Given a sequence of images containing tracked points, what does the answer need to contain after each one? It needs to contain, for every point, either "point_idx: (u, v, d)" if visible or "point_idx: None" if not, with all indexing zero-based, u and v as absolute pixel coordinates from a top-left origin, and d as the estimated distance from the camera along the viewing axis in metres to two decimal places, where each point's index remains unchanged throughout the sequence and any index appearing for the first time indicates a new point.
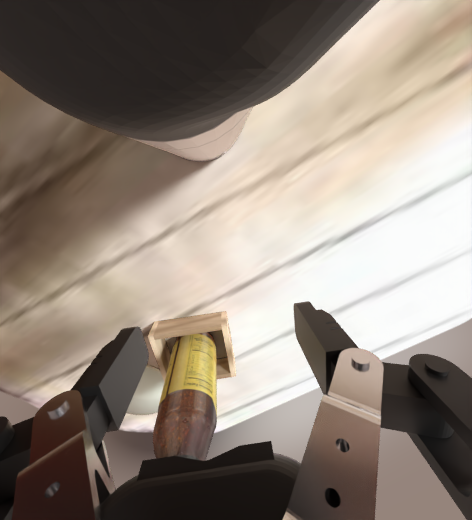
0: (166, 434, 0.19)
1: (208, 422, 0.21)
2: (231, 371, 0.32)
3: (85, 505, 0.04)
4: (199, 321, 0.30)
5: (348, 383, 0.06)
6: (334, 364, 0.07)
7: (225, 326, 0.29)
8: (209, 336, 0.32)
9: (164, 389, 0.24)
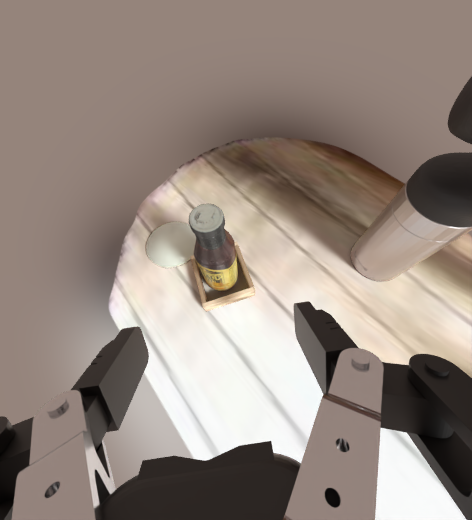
0: (227, 232, 0.31)
1: (229, 258, 0.30)
2: (208, 302, 0.38)
3: (85, 505, 0.04)
4: None
5: (348, 383, 0.06)
6: (334, 364, 0.07)
7: (253, 289, 0.38)
8: (233, 284, 0.41)
9: None
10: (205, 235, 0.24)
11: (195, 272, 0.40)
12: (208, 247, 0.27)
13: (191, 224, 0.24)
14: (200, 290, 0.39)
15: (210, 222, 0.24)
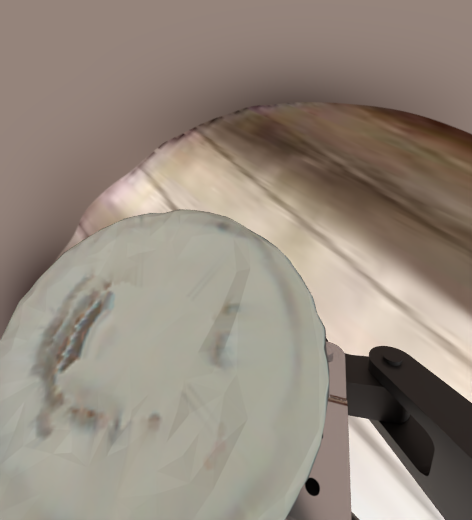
0: None
1: None
2: None
3: None
4: None
5: None
6: None
7: None
8: None
9: None
10: None
11: None
12: None
13: None
14: None
15: (196, 426, 0.02)
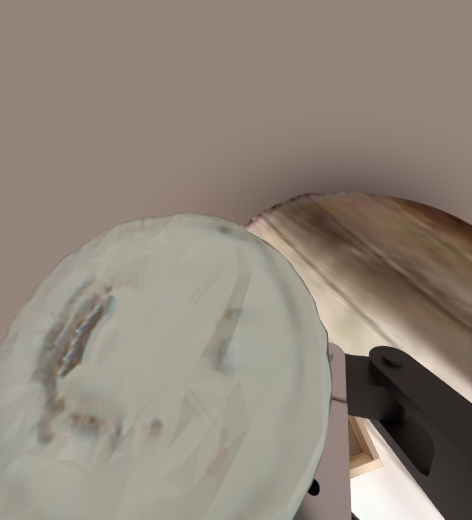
0: None
1: None
2: None
3: None
4: None
5: None
6: None
7: (380, 464, 0.26)
8: None
9: None
10: None
11: None
12: None
13: None
14: None
15: (198, 432, 0.02)
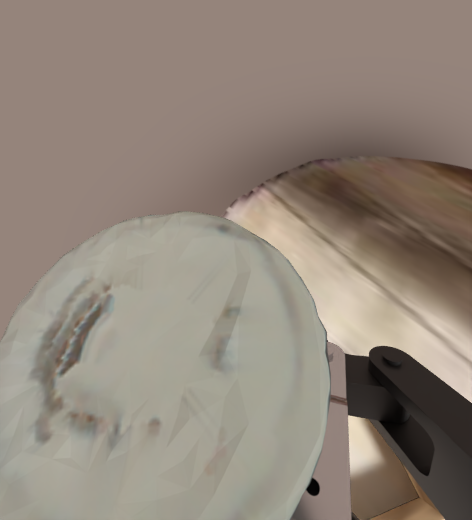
0: None
1: None
2: None
3: None
4: None
5: None
6: None
7: None
8: None
9: None
10: None
11: None
12: None
13: None
14: None
15: (196, 430, 0.02)
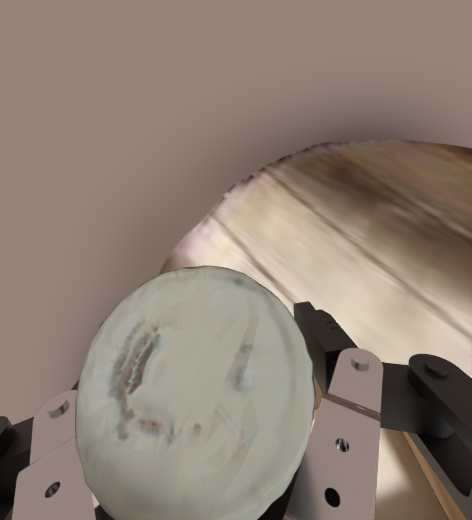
0: None
1: None
2: None
3: (85, 505, 0.04)
4: None
5: (348, 383, 0.06)
6: (334, 364, 0.07)
7: None
8: None
9: None
10: None
11: None
12: None
13: (82, 444, 0.03)
14: None
15: (225, 432, 0.03)
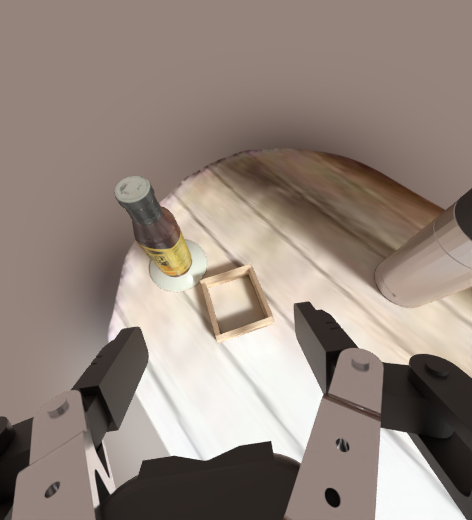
0: (166, 210, 0.30)
1: (167, 236, 0.29)
2: (222, 335, 0.33)
3: (85, 506, 0.04)
4: None
5: (348, 383, 0.06)
6: (334, 364, 0.07)
7: (272, 319, 0.34)
8: (187, 270, 0.40)
9: None
10: (130, 206, 0.24)
11: (206, 299, 0.36)
12: (141, 222, 0.27)
13: (116, 195, 0.24)
14: (212, 320, 0.34)
15: (135, 193, 0.24)
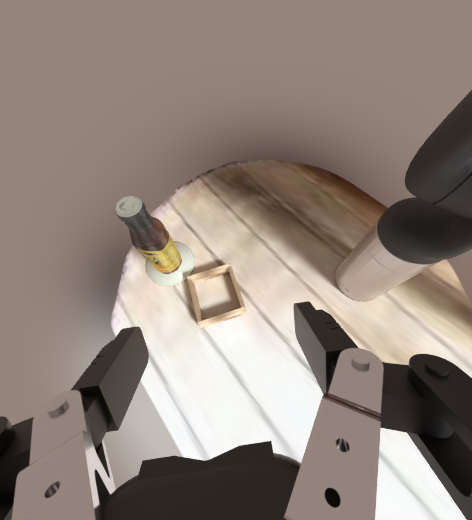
0: (157, 220, 0.38)
1: (157, 241, 0.37)
2: (203, 321, 0.41)
3: (85, 505, 0.04)
4: None
5: (348, 383, 0.06)
6: (334, 364, 0.07)
7: (244, 309, 0.42)
8: (177, 268, 0.48)
9: None
10: (127, 220, 0.31)
11: (191, 292, 0.44)
12: (135, 231, 0.34)
13: (116, 211, 0.31)
14: (196, 309, 0.42)
15: (130, 209, 0.31)
